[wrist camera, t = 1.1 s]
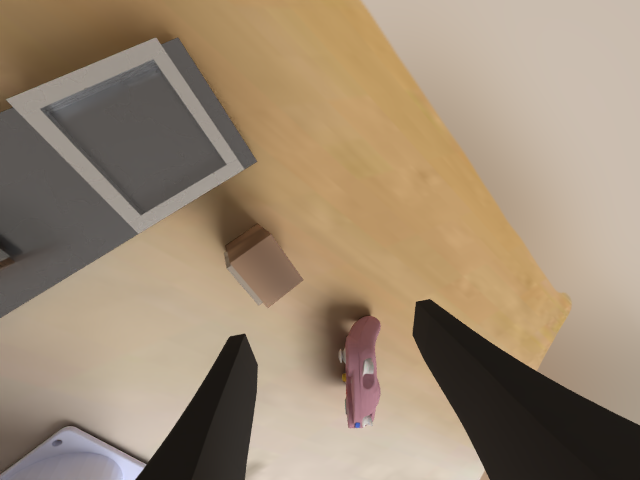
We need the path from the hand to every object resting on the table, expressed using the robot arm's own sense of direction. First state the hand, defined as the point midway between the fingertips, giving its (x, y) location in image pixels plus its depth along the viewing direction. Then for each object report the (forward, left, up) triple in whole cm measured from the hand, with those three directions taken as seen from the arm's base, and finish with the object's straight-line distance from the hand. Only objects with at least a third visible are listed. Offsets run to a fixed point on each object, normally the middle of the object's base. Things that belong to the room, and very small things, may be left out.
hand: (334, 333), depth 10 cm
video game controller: (+1, -15, -12) cm, 19 cm away
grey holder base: (-7, +11, -12) cm, 17 cm away
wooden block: (-1, +1, -12) cm, 12 cm away
